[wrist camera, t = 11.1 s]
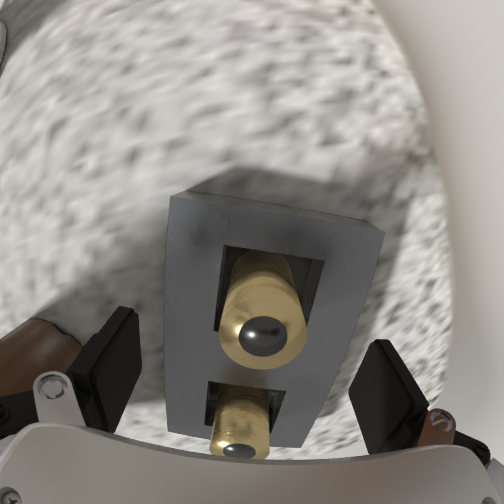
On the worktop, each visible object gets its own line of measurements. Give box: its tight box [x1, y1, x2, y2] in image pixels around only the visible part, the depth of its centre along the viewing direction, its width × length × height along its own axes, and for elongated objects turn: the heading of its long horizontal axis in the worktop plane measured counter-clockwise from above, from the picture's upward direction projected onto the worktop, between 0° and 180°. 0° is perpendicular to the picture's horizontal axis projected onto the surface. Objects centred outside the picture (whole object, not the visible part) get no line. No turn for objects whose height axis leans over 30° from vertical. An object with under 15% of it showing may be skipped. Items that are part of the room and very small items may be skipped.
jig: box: [164, 191, 385, 459], centre depth 17 cm, size 20×12×7 cm, turn 171°
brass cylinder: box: [219, 250, 307, 369], centre depth 16 cm, size 4×4×7 cm
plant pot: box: [0, 319, 83, 397], centre depth 15 cm, size 16×16×16 cm
